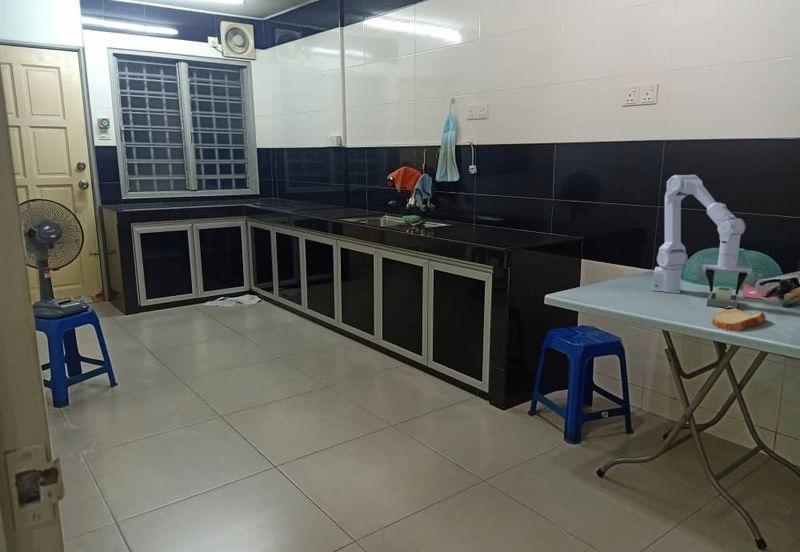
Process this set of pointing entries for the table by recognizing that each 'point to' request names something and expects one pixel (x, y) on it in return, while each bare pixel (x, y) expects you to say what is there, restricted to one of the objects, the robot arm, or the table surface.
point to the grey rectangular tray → (722, 301)
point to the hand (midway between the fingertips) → (723, 292)
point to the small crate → (723, 293)
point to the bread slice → (737, 319)
